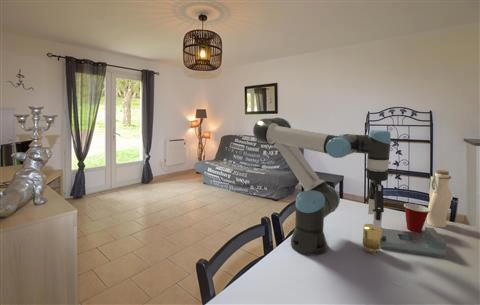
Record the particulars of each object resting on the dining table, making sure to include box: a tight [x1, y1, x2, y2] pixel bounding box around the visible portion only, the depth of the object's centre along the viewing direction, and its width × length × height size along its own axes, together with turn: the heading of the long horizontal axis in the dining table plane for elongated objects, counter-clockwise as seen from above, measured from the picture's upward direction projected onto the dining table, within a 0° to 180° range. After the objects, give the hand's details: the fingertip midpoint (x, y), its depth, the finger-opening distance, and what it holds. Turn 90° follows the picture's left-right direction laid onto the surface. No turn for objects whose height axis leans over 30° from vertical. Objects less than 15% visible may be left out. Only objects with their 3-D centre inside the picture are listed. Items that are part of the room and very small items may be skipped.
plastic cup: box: [403, 203, 430, 233], centre depth 124 cm, size 11×11×12 cm
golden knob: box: [361, 223, 383, 254], centre depth 105 cm, size 7×7×10 cm
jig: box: [380, 226, 447, 258], centre depth 111 cm, size 24×14×6 cm, turn 71°
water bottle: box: [426, 169, 452, 228], centre depth 128 cm, size 10×9×28 cm
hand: (374, 220), depth 104 cm, fingers open, 13 cm apart
